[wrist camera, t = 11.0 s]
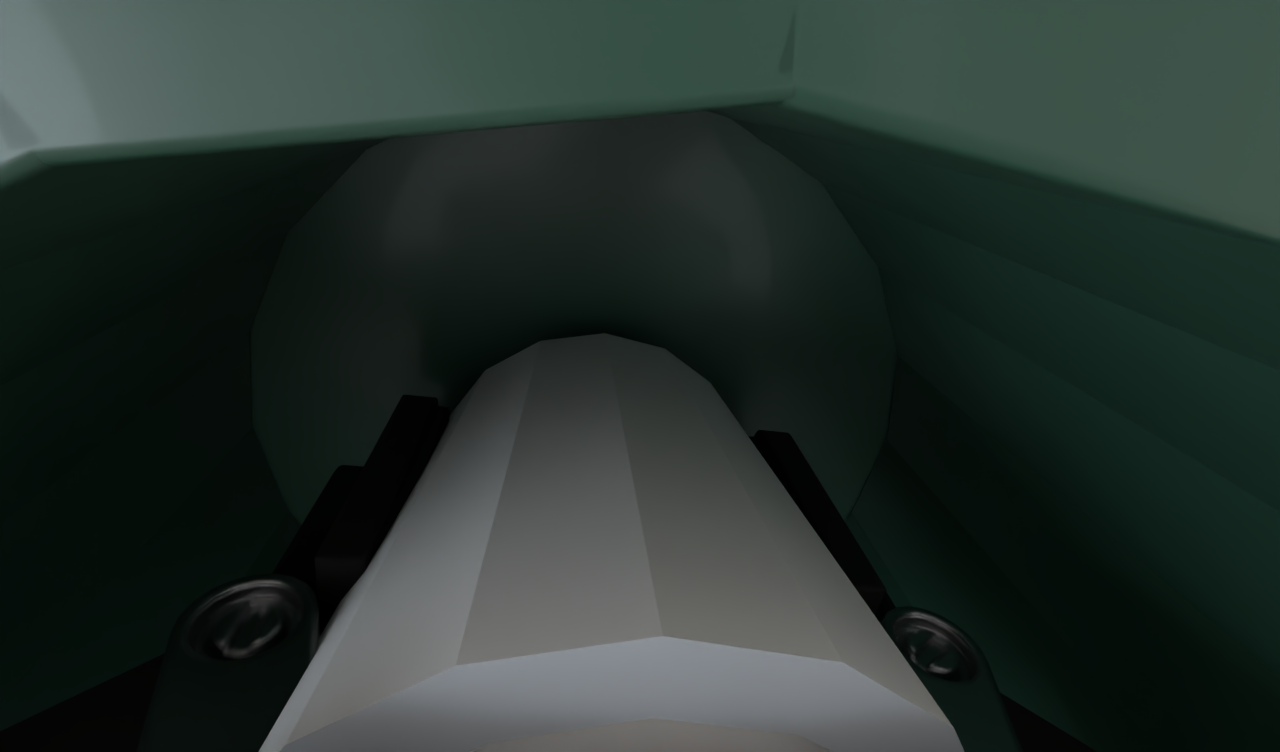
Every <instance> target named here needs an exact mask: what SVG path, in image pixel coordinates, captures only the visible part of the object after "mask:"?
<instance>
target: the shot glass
mask: <svg viewBox="0 0 1280 752" xmlns="http://www.w3.org/2000/svg"><path fill="white" fill-rule="evenodd" d="M259 752H964V749H963V747H962V745H961V743H960V740H959V738H958V736H957V734H956V731H955V729H954V727H953V726H952V725H951V723H950V722H949V720H948V719H947V717H946V716H945V715H944V713H943V712H942V710H941V709H940V708H939V706H938V705H937V703H936V702H935V700H934V699H933V698H932V696H931V695H930V693H929V692H928V690H927V689H926V688H925V686H924V685H923V683H922V682H921V681H920V679H919V678H918V676H917V675H916V673H915V672H914V671H913V669H912V668H911V666H910V665H909V664H908V662H907V661H906V659H905V658H904V656H903V655H902V654H901V652H900V651H899V649H898V648H897V647H896V645H895V644H894V642H893V641H892V639H891V638H890V637H889V635H888V634H887V632H886V631H885V630H884V628H883V627H882V625H881V624H880V622H879V621H878V620H877V618H876V617H875V615H874V614H873V613H872V611H871V610H870V608H869V607H868V605H867V604H866V603H865V601H864V600H863V598H862V597H861V596H860V594H859V593H858V591H857V590H856V588H855V587H854V586H853V584H852V583H851V581H850V580H849V579H848V577H847V576H846V574H845V573H844V571H843V570H842V569H841V567H840V566H839V564H838V563H837V562H836V560H835V559H834V557H833V556H832V554H831V553H830V552H829V550H828V549H827V547H826V546H825V545H824V543H823V542H822V540H821V539H820V537H819V536H818V535H817V533H816V532H815V530H814V529H813V527H812V526H811V525H810V523H809V522H808V520H807V519H806V518H805V516H804V515H803V513H802V512H801V510H800V509H799V508H798V506H797V505H796V503H795V502H794V501H793V499H792V498H791V496H790V495H789V493H788V492H787V491H786V489H785V488H784V486H783V485H782V484H781V482H780V481H779V479H778V478H777V476H776V475H775V474H774V472H773V471H772V469H771V468H770V467H769V465H768V464H767V462H766V461H765V459H764V458H763V457H762V455H761V454H760V452H759V451H758V450H757V448H756V447H755V445H754V444H753V442H752V441H751V440H750V438H749V437H748V435H747V434H746V433H745V431H744V430H743V428H742V427H741V425H740V424H739V423H738V421H737V420H736V418H735V417H734V416H733V414H732V413H731V411H730V410H729V408H728V407H727V406H726V404H725V403H724V401H723V400H722V399H721V397H720V396H719V394H718V393H717V391H716V390H715V389H714V387H713V386H712V384H711V383H710V382H709V381H707V380H706V379H705V378H703V377H702V376H701V375H699V374H698V373H697V372H695V371H694V370H693V369H691V368H690V367H689V366H688V365H686V364H685V363H684V362H682V361H681V360H680V359H678V358H677V357H676V356H674V355H673V354H672V353H670V352H669V351H668V350H666V349H665V348H661V347H657V346H653V345H649V344H645V343H641V342H637V341H633V340H629V339H626V338H622V337H618V336H614V335H610V334H606V333H602V334H594V335H585V336H576V337H568V338H559V339H551V340H542V341H539V342H537V343H535V344H533V345H532V346H530V347H528V348H526V349H524V350H522V351H520V352H518V353H517V354H515V355H513V356H511V357H509V358H507V359H505V360H503V361H502V362H500V363H498V364H496V365H494V366H492V367H490V368H488V369H486V370H485V371H484V373H483V374H482V375H481V376H480V378H479V379H478V380H477V381H476V383H475V384H474V385H473V386H472V388H471V389H470V390H469V392H468V393H467V394H466V395H465V397H464V398H463V399H462V400H461V402H460V403H459V404H458V405H457V407H456V408H455V409H454V410H453V412H452V413H451V414H450V416H449V421H448V423H447V425H446V427H445V429H444V431H443V433H442V435H441V437H440V439H439V441H438V443H437V445H436V447H435V449H434V451H433V453H432V455H431V457H430V459H429V461H428V463H427V465H426V467H425V469H424V471H423V473H422V475H421V476H420V478H419V480H418V482H417V483H416V485H415V487H414V489H413V490H412V492H411V494H410V495H409V497H408V499H407V501H406V502H405V504H404V506H403V508H402V509H401V511H400V513H399V514H398V516H397V518H396V520H395V521H394V523H393V525H392V527H391V528H390V530H389V532H388V533H387V535H386V537H385V539H384V540H383V542H382V544H381V545H380V547H379V549H378V550H377V552H376V553H375V555H374V556H373V558H372V559H371V561H370V563H369V565H368V567H367V569H366V571H365V572H364V573H363V574H362V576H361V577H360V578H359V579H358V581H357V582H356V583H355V584H354V585H353V587H352V588H351V589H350V590H349V592H348V593H347V594H346V595H345V596H344V598H343V599H342V600H341V601H340V603H339V605H338V607H337V608H336V610H335V612H334V613H333V615H332V617H331V618H330V620H329V622H328V624H327V625H326V627H325V629H324V630H323V632H322V634H321V635H320V638H319V642H318V647H317V651H316V654H315V655H314V657H313V659H312V661H311V662H310V664H309V666H308V667H307V669H306V671H305V673H304V674H303V676H302V678H301V679H300V681H299V683H298V685H297V686H296V688H295V690H294V692H293V693H292V695H291V697H290V698H289V700H288V702H287V704H286V705H285V707H284V709H283V710H282V712H281V714H280V716H279V717H278V719H277V721H276V722H275V724H274V726H273V728H272V729H271V731H270V733H269V734H268V736H267V738H266V740H265V741H264V743H263V745H262V746H261V748H260V750H259Z"/></svg>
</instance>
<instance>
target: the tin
mask: <svg viewBox="0 0 1280 752" xmlns="http://www.w3.org/2000/svg"><path fill="white" fill-rule="evenodd" d="M602 333H606V334H610V335H614V336H618V337H622V338H626V339H629V340H633V341H637V342H641V343H645V344H649V345H653V346H657V347H661V348H665V349H666V350H668V351H669V352H670V353H672V354H673V355H674V356H676V357H677V358H678V359H680V360H681V361H682V362H684V363H685V364H686V365H688V366H689V367H690V368H691V369H693V370H694V371H695V372H697V373H698V374H699V375H701V376H702V377H703V378H705V379H706V380H707V381H709V382H710V383H711V384H712V386H713V387H714V389H715V390H716V391H717V393H718V394H719V396H720V397H721V399H722V400H723V401H724V403H725V404H726V406H727V407H728V408H729V410H730V411H731V413H732V414H733V416H734V417H735V418H736V420H737V421H738V423H739V424H740V425H741V427H742V428H743V430H744V431H745V433H746V434H747V435H748V436H752V437H754V435H755V433H756V432H757V431H758V430H767V431H777V432H787V433H789V434H790V435H791V436H792V438H793V439H794V441H795V442H796V444H797V446H798V447H799V449H800V450H801V452H802V454H803V455H804V457H805V459H806V460H807V462H808V463H809V465H810V467H811V468H812V470H813V471H814V473H815V475H816V476H817V478H818V480H819V481H820V483H821V484H822V486H823V488H824V489H825V491H826V492H827V494H828V496H829V497H830V499H831V501H832V502H833V504H834V505H835V507H836V509H837V510H838V512H839V513H840V515H841V517H842V518H843V520H844V522H845V523H846V525H847V526H848V528H849V530H850V531H851V533H852V534H853V536H854V538H855V539H856V541H857V543H858V544H859V546H860V547H861V549H862V551H863V552H864V554H865V555H866V557H867V559H868V560H869V562H870V564H871V565H872V567H873V568H874V570H875V572H876V573H877V575H878V576H879V578H880V580H881V581H882V583H883V585H884V586H885V588H886V589H887V590H886V592H887V594H888V595H889V597H890V598H891V600H892V602H893V603H894V605H895V607H904V606H911V607H917V608H923V609H926V610H929V611H931V612H934V613H937V614H939V615H941V616H943V617H944V618H946V619H948V620H950V621H951V622H953V623H955V624H956V625H957V626H958V627H960V628H961V629H962V630H963V631H965V632H966V633H967V634H968V635H969V636H970V637H971V638H972V639H973V640H974V641H975V642H976V643H977V645H978V646H979V647H980V648H981V650H982V652H983V653H984V655H985V657H986V659H987V661H988V663H989V665H990V668H991V670H992V673H993V676H994V678H995V681H996V683H997V686H998V688H999V691H1000V693H1002V694H1004V695H1005V696H1007V697H1009V698H1010V699H1012V700H1014V701H1015V702H1017V703H1018V704H1020V705H1022V706H1023V707H1025V708H1027V709H1028V710H1030V711H1032V712H1033V713H1035V714H1036V715H1038V716H1040V717H1041V718H1043V719H1045V720H1046V721H1048V722H1050V723H1051V724H1053V725H1054V726H1056V727H1058V728H1059V729H1061V730H1063V731H1064V732H1066V733H1068V734H1069V735H1071V736H1072V737H1074V738H1076V739H1077V740H1079V741H1081V742H1082V743H1084V744H1086V745H1087V746H1089V747H1090V748H1092V749H1094V750H1095V751H1097V752H1280V0H0V731H2V730H4V729H6V728H8V727H10V726H12V725H15V724H17V723H19V722H21V721H23V720H25V719H27V718H29V717H31V716H34V715H36V714H38V713H40V712H42V711H44V710H46V709H48V708H50V707H53V706H55V705H57V704H59V703H61V702H63V701H65V700H67V699H69V698H72V697H74V696H76V695H78V694H80V693H82V692H84V691H86V690H88V689H91V688H93V687H95V686H97V685H99V684H101V683H103V682H105V681H107V680H109V679H112V678H114V677H116V676H118V675H120V674H122V673H124V672H126V671H128V670H131V669H133V668H135V667H137V666H139V665H141V664H143V663H145V662H147V661H150V660H152V659H154V658H156V657H158V656H160V655H162V654H164V653H165V651H166V647H167V644H168V640H169V637H170V633H171V631H172V629H173V627H174V625H175V623H176V621H177V619H178V617H179V616H180V615H181V613H182V612H183V611H184V610H185V609H186V608H187V607H188V606H189V605H190V604H191V603H192V602H193V601H194V600H196V599H197V598H199V597H200V596H202V595H203V594H205V593H207V592H208V591H210V590H211V589H213V588H215V587H217V586H220V585H222V584H224V583H227V582H229V581H231V580H234V579H238V578H242V577H247V576H251V575H256V574H272V573H273V571H274V570H275V568H276V566H277V565H278V563H279V561H280V560H281V558H282V556H283V555H284V553H285V551H286V550H287V548H288V547H289V545H290V543H291V542H292V540H293V538H294V537H295V535H296V533H297V532H298V530H299V529H300V527H301V525H302V524H303V522H304V520H305V519H306V517H307V515H308V514H309V512H310V511H311V509H312V507H313V506H314V504H315V502H316V501H317V499H318V497H319V496H320V494H321V493H322V491H323V489H324V488H325V486H326V484H327V483H328V481H329V479H330V478H331V476H332V474H333V473H334V471H335V470H336V469H337V468H338V466H341V465H351V466H363V467H364V465H365V463H366V461H367V460H368V458H369V456H370V454H371V452H372V450H373V449H374V447H375V445H376V443H377V441H378V439H379V437H380V436H381V434H382V432H383V430H384V428H385V426H386V425H387V423H388V421H389V419H390V417H391V415H392V413H393V412H394V410H395V408H396V406H397V404H398V402H399V401H400V399H401V397H402V396H403V395H415V396H425V397H435V398H437V399H438V406H443V407H449V416H450V414H451V413H452V412H453V410H454V409H455V408H456V407H457V405H458V404H459V403H460V402H461V400H462V399H463V398H464V397H465V395H466V394H467V393H468V392H469V390H470V389H471V388H472V386H473V385H474V384H475V383H476V381H477V380H478V379H479V378H480V376H481V375H482V374H483V373H484V371H485V370H486V369H488V368H490V367H492V366H494V365H496V364H498V363H500V362H502V361H503V360H505V359H507V358H509V357H511V356H513V355H515V354H517V353H518V352H520V351H522V350H524V349H526V348H528V347H530V346H532V345H533V344H535V343H537V342H539V341H542V340H551V339H559V338H568V337H576V336H585V335H594V334H602Z"/></svg>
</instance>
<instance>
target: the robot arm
mask: <svg viewBox="0 0 1280 752" xmlns="http://www.w3.org/2000/svg"><path fill="white" fill-rule="evenodd" d="M448 421H449V407H443V406H438V399H437V398H435V397H425V396H415V395H403V396H402V397H401V399H400V401H399V402H398V404H397V406H396V408H395V410H394V412H393V413H392V415H391V417H390V419H389V421H388V423H387V425H386V426H385V428H384V430H383V432H382V434H381V436H380V437H379V439H378V441H377V443H376V445H375V447H374V449H373V450H372V452H371V454H370V456H369V458H368V460H367V461H366V463H365V465H364V467H363V466H351V465H341V466H338V468H337V469H336V470H335V471H334V473H333V474H332V476H331V478H330V479H329V481H328V483H327V484H326V486H325V488H324V489H323V491H322V493H321V494H320V496H319V497H318V499H317V501H316V502H315V504H314V506H313V507H312V509H311V511H310V512H309V514H308V515H307V517H306V519H305V520H304V522H303V524H302V525H301V527H300V529H299V530H298V532H297V533H296V535H295V537H294V538H293V540H292V542H291V543H290V545H289V547H288V548H287V550H286V551H285V553H284V555H283V556H282V558H281V560H280V561H279V563H278V565H277V566H276V568H275V570H274V571H273V573H272V574H256V575H251V576H247V577H242V578H238V579H234V580H231V581H229V582H227V583H224V584H222V585H220V586H217V587H215V588H213V589H211V590H210V591H208V592H207V593H205V594H203V595H202V596H200V597H199V598H197V599H196V600H194V601H193V602H192V603H191V604H190V605H189V606H188V607H187V608H186V609H185V610H184V611H183V612H182V613H181V615H180V616H179V617H178V619H177V621H176V623H175V625H174V627H173V629H172V631H171V633H170V637H169V640H168V644H167V647H166V651H165V653H164V654H162V655H160V656H158V657H156V658H154V659H152V660H150V661H147V662H145V663H143V664H141V665H139V666H137V667H135V668H133V669H131V670H128V671H126V672H124V673H122V674H120V675H118V676H116V677H114V678H112V679H109V680H107V681H105V682H103V683H101V684H99V685H97V686H95V687H93V688H91V689H88V690H86V691H84V692H82V693H80V694H78V695H76V696H74V697H72V698H69V699H67V700H65V701H63V702H61V703H59V704H57V705H55V706H53V707H50V708H48V709H46V710H44V711H42V712H40V713H38V714H36V715H34V716H31V717H29V718H27V719H25V720H23V721H21V722H19V723H17V724H15V725H12V726H10V727H8V728H6V729H4V730H2V731H0V752H259V750H260V748H261V746H262V745H263V743H264V741H265V740H266V738H267V736H268V734H269V733H270V731H271V729H272V728H273V726H274V724H275V722H276V721H277V719H278V717H279V716H280V714H281V712H282V710H283V709H284V707H285V705H286V704H287V702H288V700H289V698H290V697H291V695H292V693H293V692H294V690H295V688H296V686H297V685H298V683H299V681H300V679H301V678H302V676H303V674H304V673H305V671H306V669H307V667H308V666H309V664H310V662H311V661H312V659H313V657H314V655H315V654H316V651H317V647H318V642H319V638H320V635H321V634H322V632H323V630H324V629H325V627H326V625H327V624H328V622H329V620H330V618H331V617H332V615H333V613H334V612H335V610H336V608H337V607H338V605H339V603H340V601H341V600H342V599H343V598H344V596H345V595H346V594H347V593H348V592H349V590H350V589H351V588H352V587H353V585H354V584H355V583H356V582H357V581H358V579H359V578H360V577H361V576H362V574H363V573H364V572H365V571H366V569H367V567H368V565H369V563H370V561H371V559H372V558H373V556H374V555H375V553H376V552H377V550H378V549H379V547H380V545H381V544H382V542H383V540H384V539H385V537H386V535H387V533H388V532H389V530H390V528H391V527H392V525H393V523H394V521H395V520H396V518H397V516H398V514H399V513H400V511H401V509H402V508H403V506H404V504H405V502H406V501H407V499H408V497H409V495H410V494H411V492H412V490H413V489H414V487H415V485H416V483H417V482H418V480H419V478H420V476H421V475H422V473H423V471H424V469H425V467H426V465H427V463H428V461H429V459H430V457H431V455H432V453H433V451H434V449H435V447H436V445H437V443H438V441H439V439H440V437H441V435H442V433H443V431H444V429H445V427H446V425H447V423H448ZM748 437H749V438H750V440H751V441H752V442H753V444H754V445H755V447H756V448H757V450H758V451H759V452H760V454H761V455H762V457H763V458H764V459H765V461H766V462H767V464H768V465H769V467H770V468H771V469H772V471H773V472H774V474H775V475H776V476H777V478H778V479H779V481H780V482H781V484H782V485H783V486H784V488H785V489H786V491H787V492H788V493H789V495H790V496H791V498H792V499H793V501H794V502H795V503H796V505H797V506H798V508H799V509H800V510H801V512H802V513H803V515H804V516H805V518H806V519H807V520H808V522H809V523H810V525H811V526H812V527H813V529H814V530H815V532H816V533H817V535H818V536H819V537H820V539H821V540H822V542H823V543H824V545H825V546H826V547H827V549H828V550H829V552H830V553H831V554H832V556H833V557H834V559H835V560H836V562H837V563H838V564H839V566H840V567H841V569H842V570H843V571H844V573H845V574H846V576H847V577H848V579H849V580H850V581H851V583H852V584H853V586H854V587H855V588H856V590H857V591H858V593H859V594H860V596H861V597H862V598H863V600H864V601H865V603H866V604H867V605H868V607H869V608H870V610H871V611H872V613H873V614H874V615H875V617H876V618H877V620H878V621H879V622H880V624H881V625H882V627H883V628H884V630H885V631H886V632H887V634H888V635H889V637H890V638H891V639H892V641H893V642H894V644H895V645H896V647H897V648H898V649H899V651H900V652H901V654H902V655H903V656H904V658H905V659H906V661H907V662H908V664H909V665H910V666H911V668H912V669H913V671H914V672H915V673H916V675H917V676H918V678H919V679H920V681H921V682H922V683H923V685H924V686H925V688H926V689H927V690H928V692H929V693H930V695H931V696H932V698H933V699H934V700H935V702H936V703H937V705H938V706H939V708H940V709H941V710H942V712H943V713H944V715H945V716H946V717H947V719H948V720H949V722H950V723H951V725H952V726H953V727H954V729H955V731H956V734H957V736H958V738H959V740H960V743H961V745H962V747H963V749H964V752H1097V751H1095V750H1094V749H1092V748H1090V747H1089V746H1087V745H1086V744H1084V743H1082V742H1081V741H1079V740H1077V739H1076V738H1074V737H1072V736H1071V735H1069V734H1068V733H1066V732H1064V731H1063V730H1061V729H1059V728H1058V727H1056V726H1054V725H1053V724H1051V723H1050V722H1048V721H1046V720H1045V719H1043V718H1041V717H1040V716H1038V715H1036V714H1035V713H1033V712H1032V711H1030V710H1028V709H1027V708H1025V707H1023V706H1022V705H1020V704H1018V703H1017V702H1015V701H1014V700H1012V699H1010V698H1009V697H1007V696H1005V695H1004V694H1002V693H1000V691H999V688H998V686H997V683H996V681H995V678H994V676H993V673H992V670H991V668H990V665H989V663H988V661H987V659H986V657H985V655H984V653H983V652H982V650H981V648H980V647H979V646H978V645H977V643H976V642H975V641H974V640H973V639H972V638H971V637H970V636H969V635H968V634H967V633H966V632H965V631H963V630H962V629H961V628H960V627H958V626H957V625H956V624H955V623H953V622H951V621H950V620H948V619H946V618H944V617H943V616H941V615H939V614H937V613H934V612H931V611H929V610H926V609H923V608H917V607H911V606H904V607H895V605H894V603H893V602H892V600H891V598H890V597H889V595H888V594H887V592H886V590H887V589H886V588H885V586H884V585H883V583H882V581H881V580H880V578H879V576H878V575H877V573H876V572H875V570H874V568H873V567H872V565H871V564H870V562H869V560H868V559H867V557H866V555H865V554H864V552H863V551H862V549H861V547H860V546H859V544H858V543H857V541H856V539H855V538H854V536H853V534H852V533H851V531H850V530H849V528H848V526H847V525H846V523H845V522H844V520H843V518H842V517H841V515H840V513H839V512H838V510H837V509H836V507H835V505H834V504H833V502H832V501H831V499H830V497H829V496H828V494H827V492H826V491H825V489H824V488H823V486H822V484H821V483H820V481H819V480H818V478H817V476H816V475H815V473H814V471H813V470H812V468H811V467H810V465H809V463H808V462H807V460H806V459H805V457H804V455H803V454H802V452H801V450H800V449H799V447H798V446H797V444H796V442H795V441H794V439H793V438H792V436H791V435H790V434H789V433H787V432H777V431H767V430H758V431H757V432H756V433H755V435H754V437H752V436H748Z"/></svg>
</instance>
